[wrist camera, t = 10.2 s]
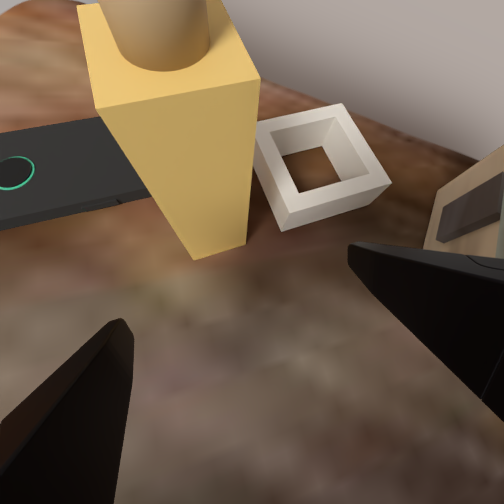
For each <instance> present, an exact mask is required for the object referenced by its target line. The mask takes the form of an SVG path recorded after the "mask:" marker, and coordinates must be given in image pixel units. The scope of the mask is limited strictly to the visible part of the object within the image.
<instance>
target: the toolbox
mask: <svg viewBox="0 0 504 504" xmlns="http://www.w3.org/2000/svg"><path fill="white" fill-rule="evenodd" d="M423 249H425V250H433V251H441V252H450V253H458V254H464V255H475V256H483V257H492V258H501V259H504V145H503V146H501V147H500V148H498V149H497V150H495V151H494V152H492V153H491V154H490V155H488V156H487V157H485V158H484V159H482V160H481V161H479V162H478V163H476V164H475V165H473V166H472V167H471V168H469V169H468V170H466V171H465V172H463V173H462V174H460V175H459V176H458V177H456V178H455V179H453V180H452V181H450V182H449V183H447V184H446V185H445V186H443V187H442V188H440V189H439V190H437V194H436V198H435V202H434V206H433V210H432V214H431V218H430V222H429V226H428V230H427V234H426V238H425V242H424V246H423Z"/></svg>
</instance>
